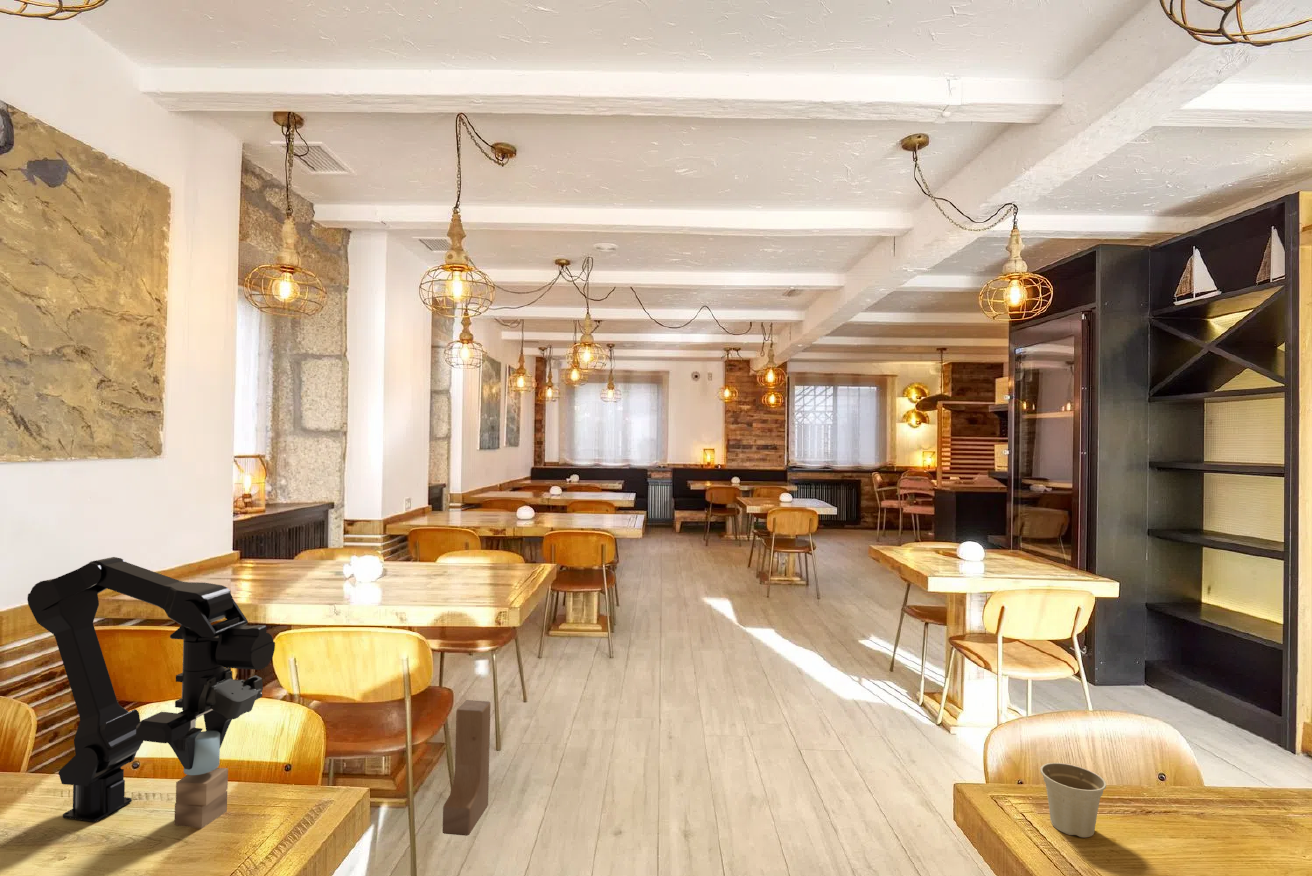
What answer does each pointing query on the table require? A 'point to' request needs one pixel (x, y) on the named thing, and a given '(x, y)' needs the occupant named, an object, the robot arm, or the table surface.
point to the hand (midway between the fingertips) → (201, 761)
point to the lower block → (200, 812)
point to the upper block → (201, 787)
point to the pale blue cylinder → (205, 753)
